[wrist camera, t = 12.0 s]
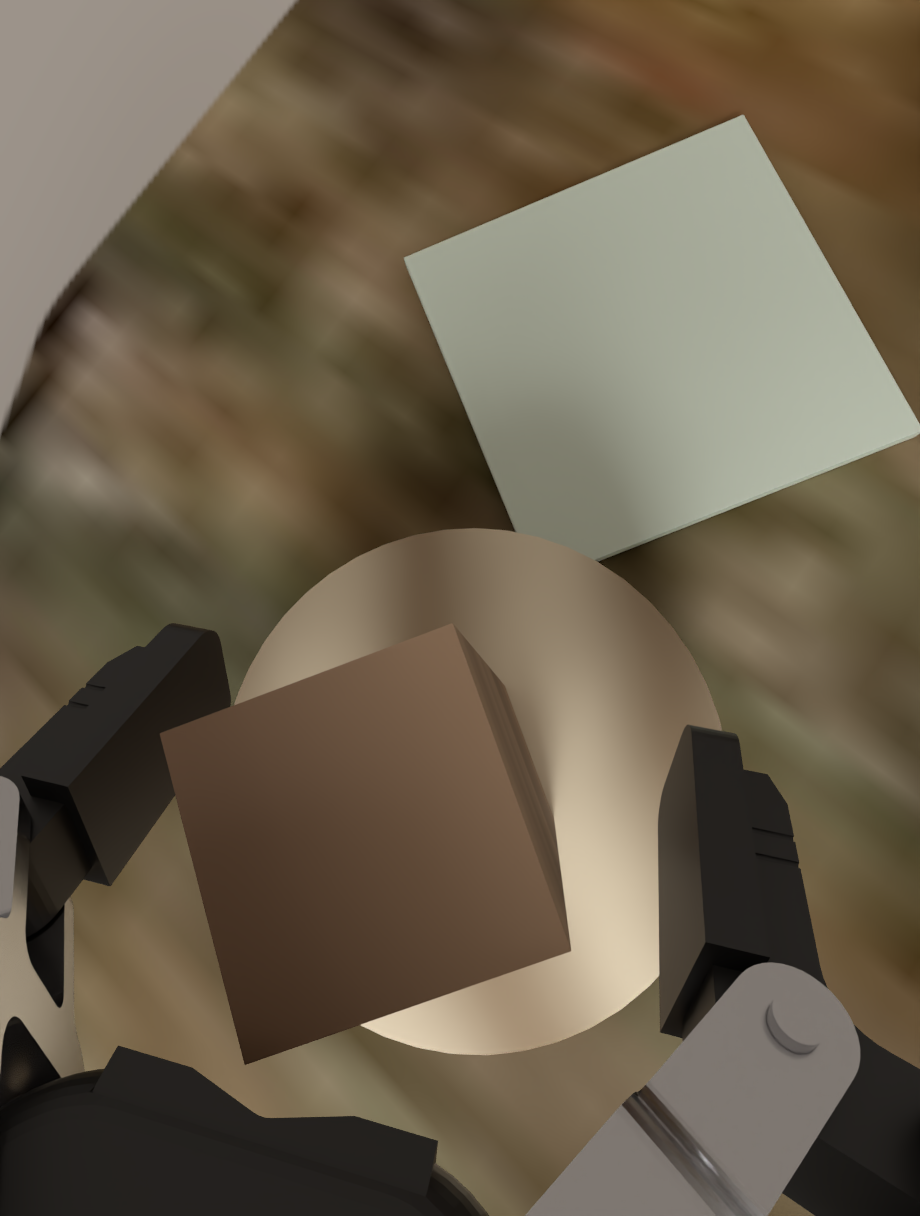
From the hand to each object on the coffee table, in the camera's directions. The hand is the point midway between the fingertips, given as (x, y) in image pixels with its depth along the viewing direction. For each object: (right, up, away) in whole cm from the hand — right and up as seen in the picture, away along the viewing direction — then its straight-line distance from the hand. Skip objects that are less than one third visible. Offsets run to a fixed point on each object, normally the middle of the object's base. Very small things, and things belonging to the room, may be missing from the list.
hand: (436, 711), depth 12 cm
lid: (+1, -3, +7) cm, 7 cm away
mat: (+7, +12, +14) cm, 19 cm away
